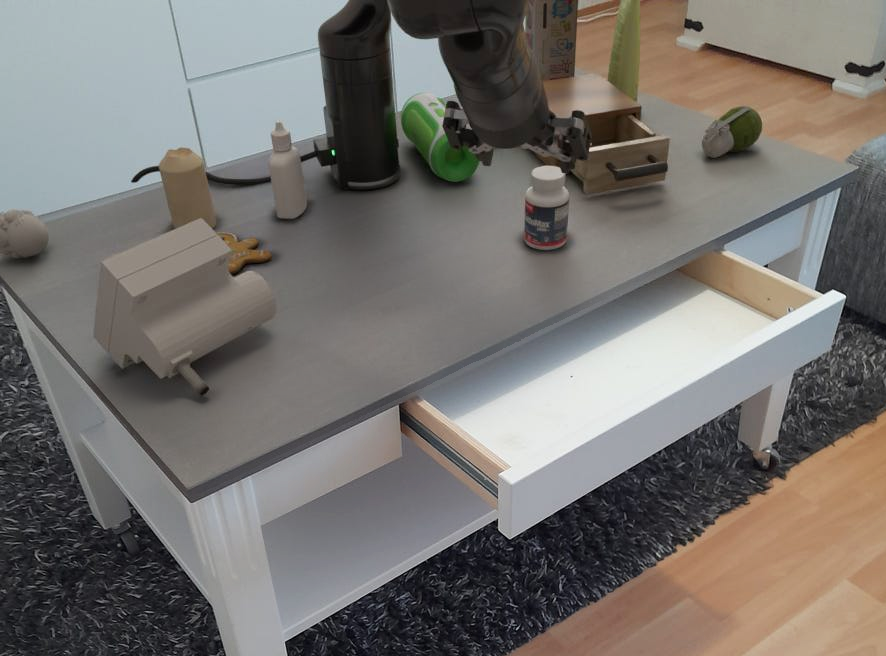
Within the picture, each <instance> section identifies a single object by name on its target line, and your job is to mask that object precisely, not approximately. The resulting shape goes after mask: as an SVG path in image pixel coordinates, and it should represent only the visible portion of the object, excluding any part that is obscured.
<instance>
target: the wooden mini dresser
mask: <svg viewBox="0 0 886 656" xmlns="http://www.w3.org/2000/svg"><path fill="white" fill-rule="evenodd" d="M607 80H608V79H606V78H605V77H603V76H602V75H600V74H599V73H598V72H595V73H588V74H581V75H574V77H567V78H561V79H554V80H548V81H542V82H543V85H544V89H545V92H546V96H547V100H548V106H549V110H551V111H552V112H553V113H554V114H555V115H556V117H557V118H569V117H571V115H572V111H574V110H579V111H582V112H584V113H585V116H586V119H587V120H593V119H599V118H605V117H611V116H617V115H623V114H629V113H630V114H631V115H632V116H634V117H635V118H636V119H638V120H639V121H640V122H641V120H642V119H641V118H642V109H643V108H642V107H643V106H642V105H641V104H640V103H638V101H637V102H636V101H634V100H633V99H632V98H630V97H629V96H627V95H626V94H625V93H623V92H622V91H621V90H619V89H618V88H617V87H615V86H614V85H613V84H611V83H610V82H609V81H607ZM541 143H542V144H544V143H545V140H544V141H543V142H541ZM558 147H559V148H560V147H561V140H560V139H559V141H558ZM532 153H533V154H534V155H536V157H537V158H538V159H539V160H540V161H541V162H542V163H543V164H544V165H545V166H556V167H559V168H560V165H559V162H558V159H557V158H555V157H553V156H548V157H544V156H542V155H540V154H538V153H536V152H534V151H532ZM569 172H572V171H571V170H570V171H569Z"/></svg>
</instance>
